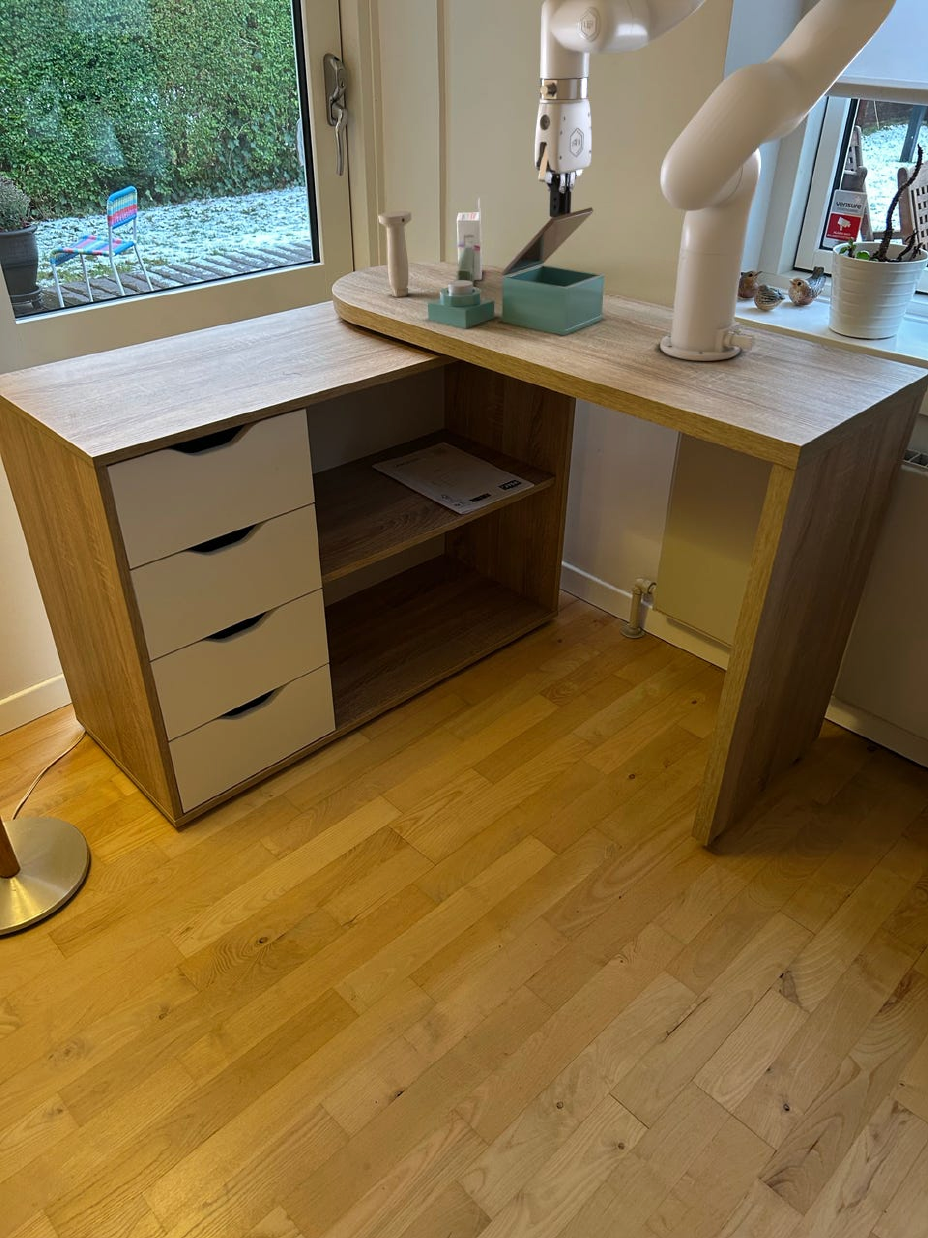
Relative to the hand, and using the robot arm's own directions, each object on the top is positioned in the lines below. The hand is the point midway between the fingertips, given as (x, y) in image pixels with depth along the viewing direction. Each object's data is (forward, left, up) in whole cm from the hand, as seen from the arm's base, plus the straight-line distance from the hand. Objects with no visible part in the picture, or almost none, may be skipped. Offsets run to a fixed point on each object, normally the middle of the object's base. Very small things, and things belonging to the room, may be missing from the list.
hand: (559, 216), depth 153 cm
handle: (+36, +3, -18) cm, 40 cm away
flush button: (+15, +9, -13) cm, 22 cm away
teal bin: (+1, 0, -18) cm, 18 cm away
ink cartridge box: (+35, -17, -18) cm, 42 cm away
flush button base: (+15, +9, -18) cm, 25 cm away
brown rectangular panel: (+2, 0, -5) cm, 5 cm away
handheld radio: (+28, -8, -18) cm, 34 cm away
